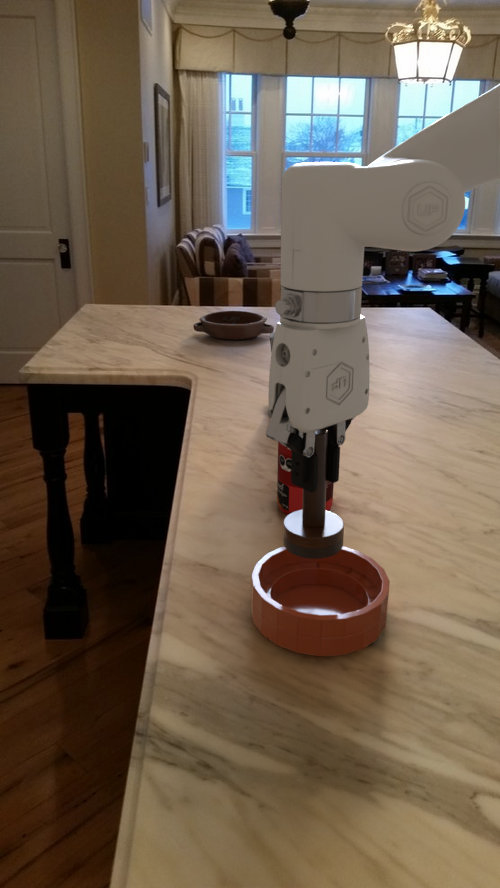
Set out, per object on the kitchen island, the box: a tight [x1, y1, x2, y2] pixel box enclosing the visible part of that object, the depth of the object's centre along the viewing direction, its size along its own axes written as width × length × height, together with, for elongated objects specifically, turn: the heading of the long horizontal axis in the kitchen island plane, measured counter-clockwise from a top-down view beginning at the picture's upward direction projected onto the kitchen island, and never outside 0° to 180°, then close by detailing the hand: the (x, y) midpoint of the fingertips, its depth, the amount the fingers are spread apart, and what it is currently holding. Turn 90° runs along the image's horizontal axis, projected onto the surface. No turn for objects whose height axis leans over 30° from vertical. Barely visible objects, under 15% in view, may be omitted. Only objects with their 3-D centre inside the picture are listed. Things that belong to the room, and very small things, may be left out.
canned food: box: [276, 431, 335, 516], centre depth 99 cm, size 8×8×11 cm
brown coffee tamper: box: [282, 428, 345, 559], centre depth 73 cm, size 6×6×13 cm
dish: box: [193, 310, 275, 341], centre depth 193 cm, size 18×22×5 cm
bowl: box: [250, 545, 391, 657], centre depth 76 cm, size 15×15×5 cm
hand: (314, 481), depth 73 cm, fingers closed on brown coffee tamper, 2 cm apart
